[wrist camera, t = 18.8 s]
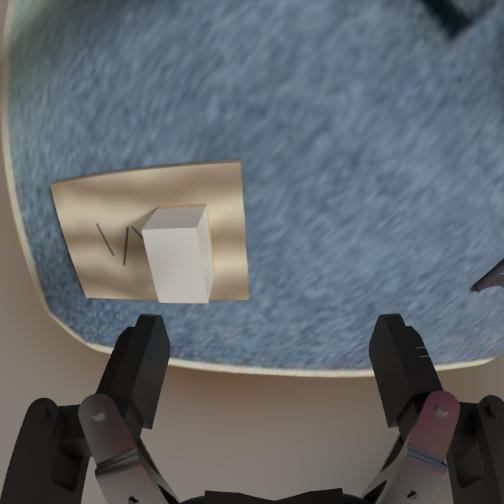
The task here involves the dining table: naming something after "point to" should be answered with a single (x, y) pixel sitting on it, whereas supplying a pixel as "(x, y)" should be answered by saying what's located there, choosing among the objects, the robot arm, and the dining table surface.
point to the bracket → (492, 278)
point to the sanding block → (180, 253)
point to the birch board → (138, 214)
